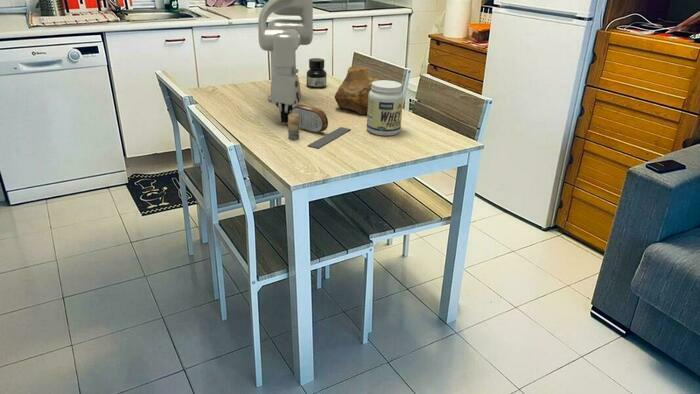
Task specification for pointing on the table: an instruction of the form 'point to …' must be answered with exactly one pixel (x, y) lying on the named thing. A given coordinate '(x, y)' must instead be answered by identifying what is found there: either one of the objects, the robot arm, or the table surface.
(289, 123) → the tan and grey cylinder
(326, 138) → the strip
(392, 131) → the supplement tub
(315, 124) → the tin
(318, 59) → the ink bottle
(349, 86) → the rough brown rock
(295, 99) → the robot arm
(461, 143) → the table surface
